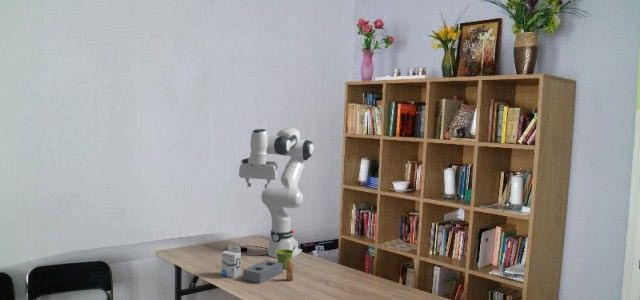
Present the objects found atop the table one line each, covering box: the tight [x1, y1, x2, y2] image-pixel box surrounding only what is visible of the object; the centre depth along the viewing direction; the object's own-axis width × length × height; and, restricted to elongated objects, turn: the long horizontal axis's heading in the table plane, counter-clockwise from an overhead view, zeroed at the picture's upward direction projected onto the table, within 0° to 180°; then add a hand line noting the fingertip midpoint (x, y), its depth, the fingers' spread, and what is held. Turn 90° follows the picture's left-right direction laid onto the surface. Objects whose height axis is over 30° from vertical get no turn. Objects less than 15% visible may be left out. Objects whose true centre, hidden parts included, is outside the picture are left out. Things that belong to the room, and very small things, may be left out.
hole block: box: [242, 259, 284, 284], centre depth 235 cm, size 20×10×5 cm, turn 152°
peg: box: [286, 260, 294, 282], centre depth 230 cm, size 3×3×9 cm
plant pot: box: [276, 249, 293, 270], centre depth 250 cm, size 9×9×9 cm
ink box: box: [220, 243, 242, 279], centre depth 234 cm, size 8×5×15 cm, turn 60°
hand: (257, 187), depth 243 cm, fingers open, 8 cm apart
